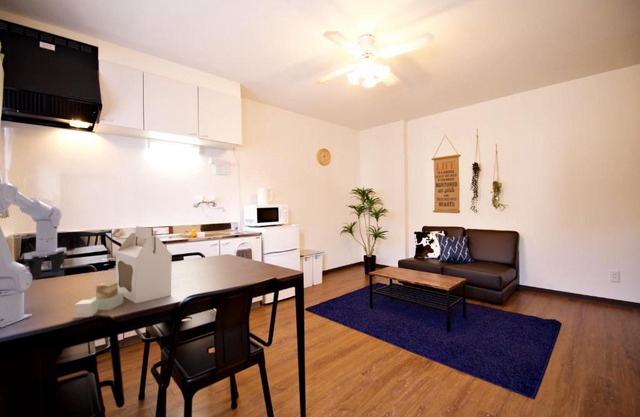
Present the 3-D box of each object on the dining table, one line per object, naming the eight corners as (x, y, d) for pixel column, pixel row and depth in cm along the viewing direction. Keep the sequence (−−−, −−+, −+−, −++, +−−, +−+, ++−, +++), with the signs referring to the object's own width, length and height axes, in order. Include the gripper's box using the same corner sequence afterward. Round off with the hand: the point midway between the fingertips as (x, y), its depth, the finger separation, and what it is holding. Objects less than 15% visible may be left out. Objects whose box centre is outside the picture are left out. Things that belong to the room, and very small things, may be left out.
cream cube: (90, 316, 94) (90, 303, 94) (74, 318, 93) (74, 304, 93) (97, 311, 99) (97, 299, 99) (82, 312, 98) (82, 299, 98)
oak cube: (117, 294, 106) (117, 282, 106) (108, 298, 102) (109, 285, 102) (105, 294, 106) (105, 282, 106) (96, 298, 102) (96, 285, 102)
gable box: (171, 295, 118) (172, 228, 117) (135, 304, 107) (136, 229, 107) (149, 285, 131) (149, 225, 131) (115, 292, 121) (116, 226, 120)
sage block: (109, 310, 101) (109, 299, 101) (89, 310, 101) (89, 299, 101) (123, 303, 108) (123, 293, 108) (104, 303, 108) (104, 293, 108)
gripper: (38, 241, 99) (38, 279, 100) (74, 236, 114) (73, 270, 114) (18, 240, 99) (17, 279, 100) (56, 236, 114) (56, 270, 114)
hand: (46, 274), depth 107 cm, fingers open, 7 cm apart
